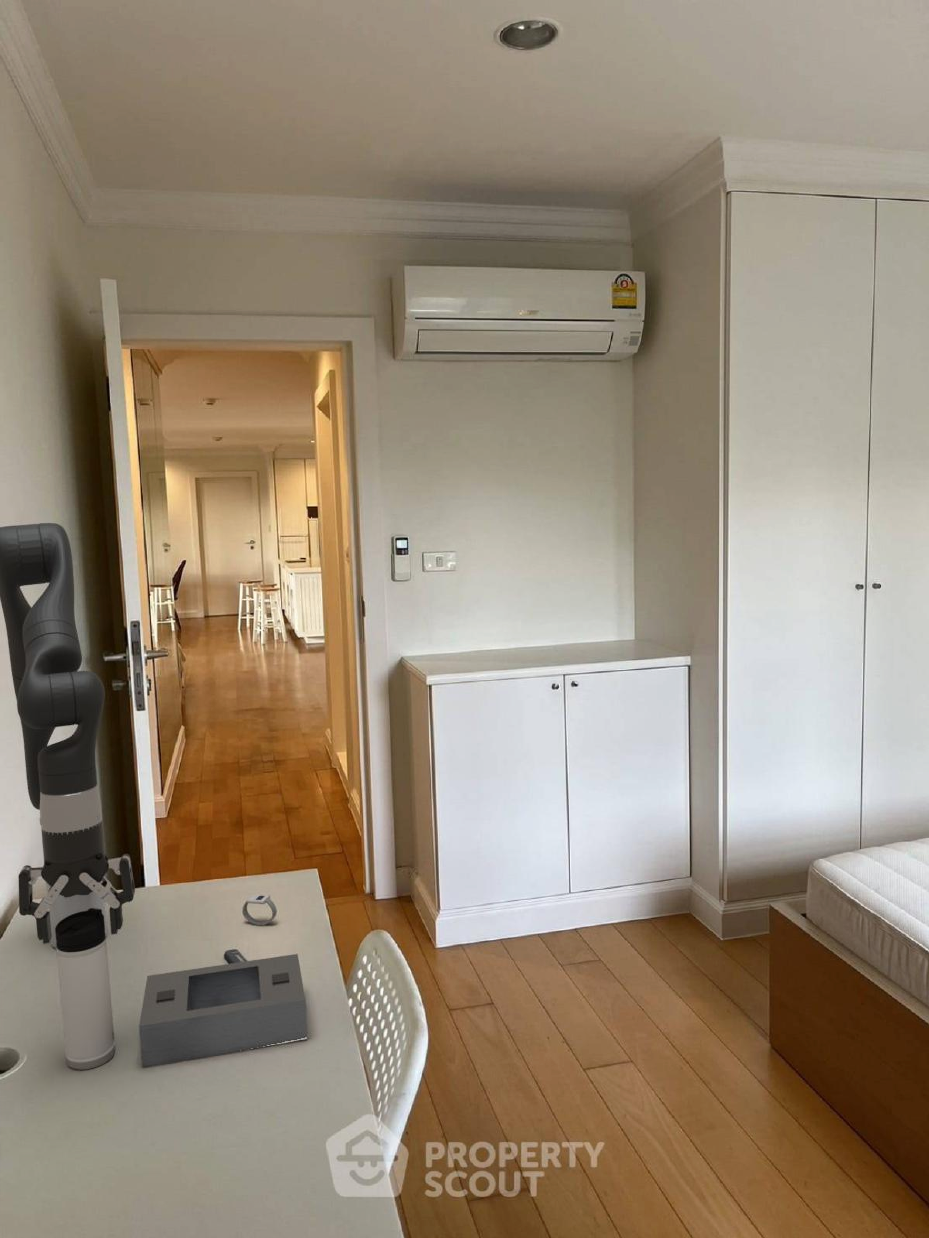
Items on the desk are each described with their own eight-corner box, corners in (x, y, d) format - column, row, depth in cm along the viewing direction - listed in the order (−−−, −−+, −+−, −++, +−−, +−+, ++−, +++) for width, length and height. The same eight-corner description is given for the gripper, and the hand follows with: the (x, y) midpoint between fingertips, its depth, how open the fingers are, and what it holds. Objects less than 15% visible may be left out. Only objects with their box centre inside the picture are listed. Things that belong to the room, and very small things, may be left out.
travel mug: (126, 1046, 130) (115, 910, 127) (93, 1073, 123) (81, 931, 121) (90, 1039, 132) (79, 904, 129) (56, 1065, 125) (43, 925, 123)
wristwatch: (240, 926, 166) (239, 899, 166) (247, 919, 169) (246, 893, 168) (272, 928, 165) (271, 901, 164) (279, 921, 168) (277, 895, 167)
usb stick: (258, 977, 149) (257, 968, 148) (242, 982, 147) (241, 973, 147) (237, 954, 156) (237, 945, 156) (222, 959, 155) (222, 950, 155)
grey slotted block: (150, 1013, 138) (147, 974, 137) (299, 990, 143) (297, 952, 142) (142, 1067, 124) (139, 1024, 124) (307, 1039, 130) (305, 998, 129)
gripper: (130, 806, 129) (139, 917, 131) (19, 817, 125) (30, 932, 127) (125, 823, 122) (134, 941, 123) (7, 836, 118) (18, 956, 120)
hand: (81, 936), depth 125 cm, fingers open, 8 cm apart
